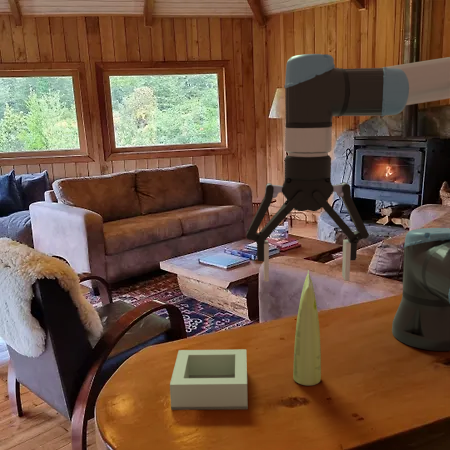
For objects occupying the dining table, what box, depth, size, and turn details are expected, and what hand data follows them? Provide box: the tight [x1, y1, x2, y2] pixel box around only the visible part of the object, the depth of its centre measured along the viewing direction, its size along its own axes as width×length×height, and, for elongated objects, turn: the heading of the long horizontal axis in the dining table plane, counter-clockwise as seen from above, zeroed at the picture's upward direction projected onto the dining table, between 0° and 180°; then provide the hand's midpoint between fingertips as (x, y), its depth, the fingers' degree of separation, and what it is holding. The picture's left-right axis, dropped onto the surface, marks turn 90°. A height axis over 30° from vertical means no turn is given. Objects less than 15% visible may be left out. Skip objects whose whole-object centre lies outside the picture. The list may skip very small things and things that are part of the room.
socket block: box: [169, 348, 248, 411], centre depth 91 cm, size 12×12×4 cm
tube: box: [292, 269, 322, 386], centre depth 92 cm, size 6×5×20 cm
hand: (305, 278), depth 90 cm, fingers open, 13 cm apart
